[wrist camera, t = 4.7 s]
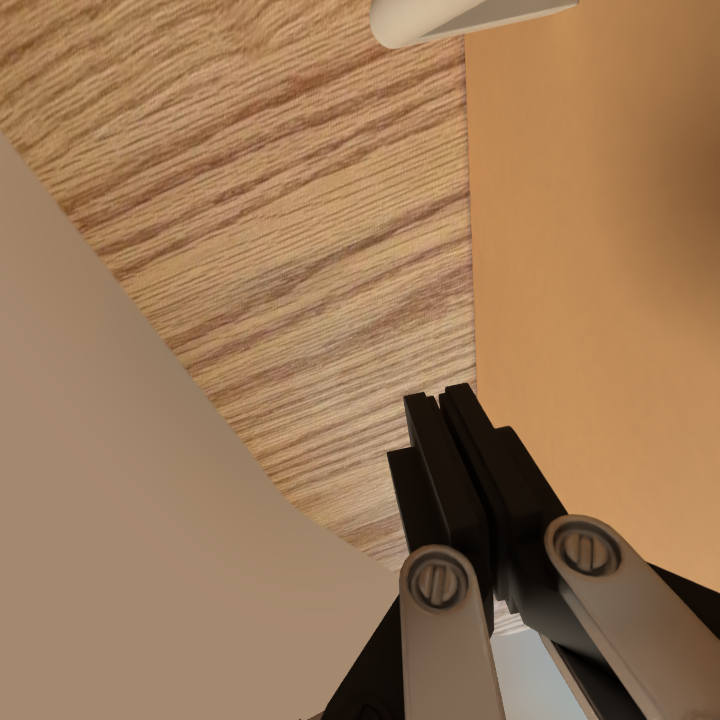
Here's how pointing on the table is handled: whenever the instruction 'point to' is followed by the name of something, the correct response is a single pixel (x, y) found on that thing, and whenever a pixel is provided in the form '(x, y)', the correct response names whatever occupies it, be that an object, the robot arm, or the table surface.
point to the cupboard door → (597, 250)
